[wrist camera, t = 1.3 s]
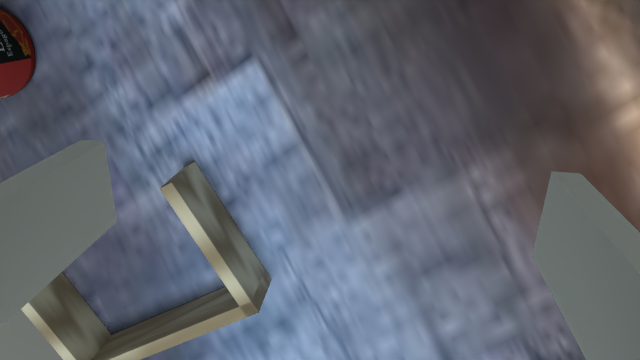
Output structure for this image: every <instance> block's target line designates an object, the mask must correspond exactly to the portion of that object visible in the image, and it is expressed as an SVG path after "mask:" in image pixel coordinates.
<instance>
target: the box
mask: <svg viewBox="0 0 640 360" xmlns="http://www.w3.org/2000/svg"><path fill="white" fill-rule="evenodd" d="M160 190H161V192H162V193H163V195H164V196H165V198H166V199H167V200H168V202H169V203H170V205H171V206H172V208H173V209H174V211H175V212H176V214H177V215H178V217H179V218H180V220H181V221H182V223H183V224H184V225H185V227H186V228H187V230H188V231H189V233H190V234H191V236H192V237H193V239H194V240H195V242H196V243H197V245H198V246H199V247H200V249H201V250H202V252H203V253H204V255H205V256H206V258H207V259H208V261H209V262H210V264H211V265H212V267H213V268H214V270H215V271H216V272H217V274H218V275H219V277H220V278H221V280H222V281H223V283H224V284H225V286H226V287H223V288H221V289H219V290H216V291H214V292H212V293H209V294H207V295H205V296H202V297H200V298H198V299H195V300H193V301H190V302H188V303H186V304H183V305H181V306H179V307H176V308H174V309H172V310H169V311H167V312H165V313H162V314H160V315H158V316H155V317H153V318H151V319H148V320H146V321H143V322H141V323H139V324H136V325H134V326H132V327H129V328H127V329H125V330H122V331H120V332H118V333H115V334H113V335H111V333H110V332H109V331H108V330H107V328H106V327H105V326H104V325H103V323H102V322H101V321H100V319H99V318H98V317H97V316H96V314H95V313H94V312H93V311H92V309H91V308H90V307H89V306H88V304H87V303H86V302H85V300H84V299H83V298H82V297H81V295H80V294H79V293H78V292H77V290H76V289H75V288H74V287H73V285H72V284H71V283H70V281H69V280H68V279H67V278H66V276H65V275H64V274H63V273H62V272H61V273H60V274H59V275H58V276H57V277H56V278H54V279H53V280H52V281H51V282H50V283H49V284H48V285H47V286H46V287H45V288H44V289H42V290H41V291H40V292H39V293H38V294H37V295H36V296H35V297H34V298H33V299H31V300H30V301H29V302H28V303H27V304H26V305H25V306H24V307H23V308H22V309H21V310H22V311H23V312H24V313H25V314H26V316H27V317H28V318H29V319H30V320H31V322H32V323H33V324H34V325H35V326H36V327H37V328H38V330H39V331H40V332H41V333H42V335H43V336H44V337H45V338H46V339H47V340H48V342H49V343H50V344H51V345H52V347H53V348H54V349H55V350H56V351H57V352H58V354H59V355H60V356H61V357H62V358H63V360H140V359H143V358H145V357H148V356H151V355H153V354H156V353H158V352H161V351H163V350H166V349H168V348H171V347H173V346H176V345H178V344H181V343H183V342H186V341H188V340H191V339H193V338H196V337H198V336H201V335H203V334H206V333H208V332H211V331H213V330H216V329H218V328H221V327H223V326H226V325H229V324H231V323H234V322H236V321H239V320H241V319H244V318H246V317H249V316H251V315H254V314H256V313H259V310H260V308H261V305H262V303H263V300H264V298H265V295H266V292H267V290H268V287H269V285H270V282H271V278H270V277H269V275H268V274H267V272H266V271H265V269H264V268H263V266H262V264H261V263H260V261H259V260H258V258H257V257H256V255H255V254H254V252H253V250H252V249H251V247H250V246H249V244H248V243H247V241H246V240H245V238H244V237H243V235H242V233H241V232H240V230H239V229H238V227H237V226H236V224H235V223H234V221H233V219H232V218H231V216H230V215H229V213H228V212H227V210H226V209H225V207H224V206H223V204H222V202H221V201H220V199H219V198H218V196H217V195H216V193H215V192H214V190H213V188H212V187H211V185H210V184H209V182H208V181H207V179H206V178H205V176H204V175H203V173H202V171H201V170H200V168H199V167H198V165H197V164H196V162H193V163H191V164H189V165H187V166H185V167H184V168H183V169H182V170H180V171H179V172H178V173H177V174H176V175H175V176H174V177H172V178H171V179H170V180H169V181H168V182H167V183H166V184H164V185H163V186H162V187H161V188H160Z"/></svg>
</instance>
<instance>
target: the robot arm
mask: <svg viewBox="0 0 640 360" xmlns="http://www.w3.org/2000/svg"><path fill="white" fill-rule="evenodd" d="M116 222H117V219H116V212H115V206H114V200H113V193H112V187H111V181H110V174H109V168H108V162H107V155H106V149H105V143H104V142H102V141H87V140H80V141H78V142H76V143H74V144H72V145H71V146H69V147H67V148H65V149H63V150H61V151H59V152H58V153H56V154H54V155H52V156H50V157H48V158H46V159H44V160H43V161H41V162H39V163H37V164H35V165H33V166H31V167H30V168H28V169H26V170H24V171H22V172H20V173H18V174H16V175H15V176H13V177H11V178H9V179H7V180H5V181H3V182H2V183H0V328H1V327H2V326H3V325H4V324H5V323H6V322H7V321H8V320H9V319H11V318H12V317H13V316H14V315H15V314H16V313H17V312H18V311H19V310H20V309H22V308H23V307H24V306H25V305H26V304H27V303H28V302H29V301H30V300H31V299H33V298H34V297H35V296H36V295H37V294H38V293H39V292H40V291H41V290H42V289H44V288H45V287H46V286H47V285H48V284H49V283H50V282H51V281H52V280H53V279H54V278H56V277H57V276H58V275H59V274H60V273H61V272H62V271H63V270H64V269H65V268H67V267H68V266H69V265H70V264H71V263H72V262H73V261H74V260H75V259H76V258H78V257H79V256H80V255H81V254H82V253H83V252H84V251H85V250H86V249H87V248H88V247H90V246H91V245H92V244H93V243H94V242H95V241H96V240H97V239H98V238H99V237H101V236H102V235H103V234H104V233H105V232H106V231H107V230H108V229H109V228H110V227H112V226H113V225H114V224H115V223H116ZM532 258H533V260H534V262H535V264H536V265H537V267H538V269H539V271H540V273H541V275H542V277H543V279H544V281H545V283H546V284H547V286H548V288H549V290H550V292H551V294H552V296H553V298H554V300H555V301H556V303H557V305H558V307H559V309H560V311H561V313H562V315H563V317H564V319H565V320H566V322H567V324H568V326H569V328H570V330H571V332H572V334H573V336H574V338H575V339H576V341H577V343H578V345H579V347H580V349H581V351H582V353H583V355H584V357H585V358H586V360H640V233H639V232H638V231H637V230H636V229H635V228H634V227H633V226H632V225H631V224H630V223H629V222H628V221H627V220H626V219H625V218H624V217H623V216H622V215H621V214H620V213H619V212H618V211H617V210H616V209H615V208H614V207H613V206H612V205H611V204H610V203H609V202H608V201H607V200H606V198H605V197H604V196H603V195H602V194H601V193H600V192H599V191H598V190H597V189H596V188H595V187H594V186H593V185H592V184H591V183H590V182H589V181H588V180H587V179H586V178H585V177H584V176H583V175H582V174H580V173H565V172H551V177H550V181H549V185H548V190H547V194H546V198H545V203H544V207H543V211H542V216H541V220H540V224H539V229H538V233H537V237H536V241H535V246H534V250H533V254H532Z"/></svg>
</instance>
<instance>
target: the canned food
mask: <svg viewBox="0 0 640 360" xmlns="http://www.w3.org/2000/svg"><path fill="white" fill-rule="evenodd" d="M34 68H35V53H34V48H33V45H32V41H31V39H30V37H29V35H28V33H27V32H26V30H25V29H24V27H23V26H22V25H21V24H20V23H19V21H18V20H17V19H16V18H14V17H13V16H12V15H10V14H9V13H8V12H6V11H4V10H2V9H0V99H3V98H7V97H9V96H12V95H14V94H16V93H17V92H18V91H20V90H21V89H22V88H23V87H24V86H25V85H26V84H27V83H28V82H29V80H30V79H31V77H32V75H33V71H34Z"/></svg>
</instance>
